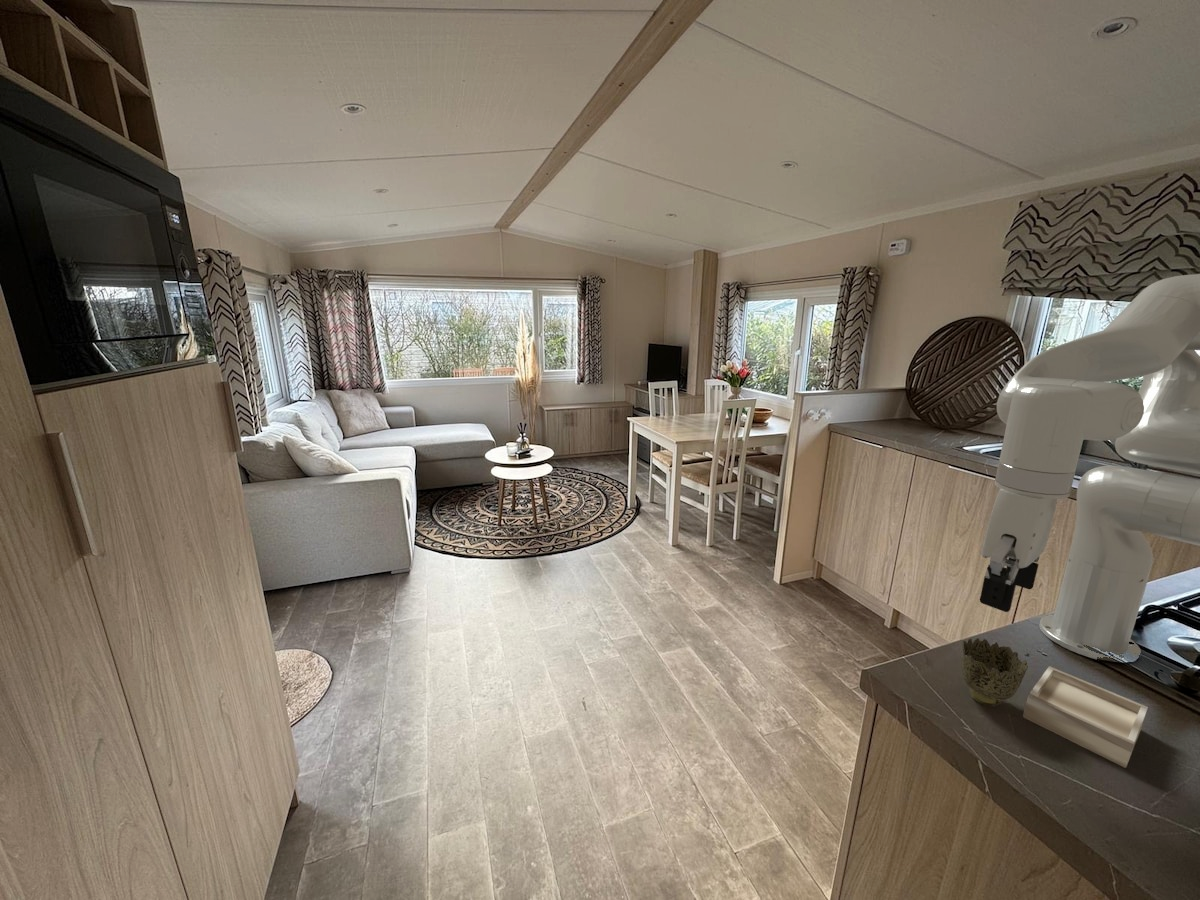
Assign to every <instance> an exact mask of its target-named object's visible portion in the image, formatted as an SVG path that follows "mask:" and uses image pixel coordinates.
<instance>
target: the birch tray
mask: <svg viewBox="0 0 1200 900" xmlns="http://www.w3.org/2000/svg"><path fill="white" fill-rule="evenodd" d="M1148 708H1149V706H1146V705H1144V704H1142V703H1138V702H1137V701H1135V700H1132V699H1130V698H1128V697H1124V696H1122V695H1120V694H1118V693H1115V692H1113V691H1110V690H1108V689H1105V688H1103V687H1100V686H1098V685H1097V684H1094V683H1091V682H1088V681H1087V680H1084V679H1082V678H1080V677H1077V676H1074V675H1072V674H1070V673H1067V672H1064V671H1062V670H1060V669H1057V668H1055V667H1052V666H1050V665H1048V667H1047V668H1046V670H1045V671H1044V672H1043V674H1042V676H1041V677H1040V678H1039V680H1038V681H1037V682H1036V683H1035V685H1034V687H1033V688H1032V689H1031V691H1030V692H1029V694H1028V695H1027V698H1026V702H1025V707H1024V711H1023V715H1022V718H1023V719H1026V720H1028V721H1030V722H1032V723H1034V724H1036V725H1038V726H1040V727H1042V728H1044V729H1046V730H1048V731H1050V732H1053V733H1054V734H1056V735H1058V736H1060V737H1062V738H1064V739H1067V740H1068V741H1070V742H1072V743H1074V744H1075V745H1078V746H1080V747H1082V748H1084V749H1086V750H1088V751H1090V752H1092V753H1094V754H1095V755H1098V756H1100V757H1102V758H1104V759H1107V760H1108V761H1110V762H1113V764H1117V765H1118V766H1120V767H1122V768H1124V769H1127V768H1128V764H1129V761H1130V759H1131V756H1132V754H1133V752H1134V749H1135V746H1136V744H1137V741H1138V738H1139V736H1140V732H1141V731H1142V727H1143V724H1144V721H1145V718H1146V716H1147V711H1148V710H1149V709H1148Z"/></svg>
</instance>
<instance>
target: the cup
mask: <svg viewBox="0 0 1200 900" xmlns="http://www.w3.org/2000/svg"><path fill="white" fill-rule="evenodd" d="M1018 654H1019V653H1018V652H1017V651H1013V650H1012V648H1011V647H1010V646H1008V645H1005V646H1003V645H1002V646H999V644H998V642H997V641H995V642H993V643H992V645H990V642H988V640H987V638H984V639H983V640H981V639H980V638H979V637H977V638H975V639H974V641H973V639H972V638H969V639H968V641H966V640H963V642H962V650H961V674H962V676H963V678H962V679H963V680H964V682H965V683H966V684H967V686H968V687H969V692H970V695H971V697H972V698H973V699H974V700H975V701H976V702H978V703H979V704H980V705H984V706H985V707H993V708H994V707H998V706H999V705H1000V704H1001V703H1002V701H1004V700H1008V699H1011V698H1012V697H1013V696H1014V695H1015V694H1017V693H1016V692H1017V691H1018V689H1019V688H1020V686H1021V683H1022V681H1023V679H1024V676H1025V675H1026V672H1027V670H1028V668H1029V665H1028V662H1027V660H1026V659H1025V660H1023V661H1022V660H1021V659H1019V657H1018Z"/></svg>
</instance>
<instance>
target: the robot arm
mask: <svg viewBox="0 0 1200 900" xmlns="http://www.w3.org/2000/svg"><path fill="white" fill-rule="evenodd" d="M1197 351H1200V273H1196V274H1184V275H1183V274H1182V275H1176V276H1175V275H1174V276H1171V277H1166V278H1163V279H1160V280H1157V281H1155V282H1153V283H1151V284H1149V285H1148V286H1147V287H1145V288H1144V289H1143V290H1141V291H1140V293H1138V294H1137V296H1135V298H1133V299H1132V300H1131V301H1130V302H1129V304H1128V305H1127V306H1125V308H1124V309H1122V311H1121V312H1120V313H1119V314H1118V315H1117V316H1116V317H1115V318H1114V319H1113V320H1112V321H1111V322H1110V323H1109V324H1108V325H1107V326H1106V327H1105V328H1104V329H1103V330H1100V331H1097V332H1093V333H1090V334H1087V335H1085V336H1082V337H1078V338H1076V339H1073V340H1071V341H1068V342H1065V343H1062V344H1060V345H1057V346H1053V347H1051V348H1049V349H1047V350H1044V351H1042V352H1040V353H1038V354H1037V355H1035V356H1034V357H1032V358H1031V359H1029V360H1027V362H1026V363H1025V364H1024V365H1022V366H1021V367H1020V369H1018V371H1016V373H1014V375H1013V376H1011V378H1010V379H1009V380H1008V382H1006V384H1004V386H1003V388H1002V390H1001V392H1000V393H999V395H998V398H997V402H996V412H997V416H998V417H999V420H1001V421H1002V423H1003V424H1005V432H1004V436H1003V441H1002V444H1001V450H1000V453H999V454H1000V455H999V460H998V465H997V470H996V475H995V480H994V486H995V487H997V488H998V489H999V491H998V493H997V495H996V498H995V501H994V504H993V507H992V510H991V513H990V516H989V519H988V523H987V527H986V531H985V534H984V538H983V542H982V546H981V550H980V554H981V557H983V559H984V558H985V559H987V558H989V564H988V565H987V568H986V571H985V574H984V577H983V582H982V587H981V593H980V596H979V602H980V604H983V605H986V606H988V607H991V608H993V609H995V610H999V611H1001V612H1004V613H1008V612H1010V611H1011V607H1012V604H1013V601H1014V596H1015V595H1014V594H1015V590H1016V587H1021V588H1023V589H1025V590H1032V589H1033V588H1034V584H1035V581H1036V576H1037V573H1038V568H1039V563H1038V562H1039V559H1040V556H1041V555H1043V553H1044V551H1045V549H1046V547H1047V543H1048V540H1049V537H1050V533H1051V530H1052V526H1053V521H1054V518H1055V512H1056V508H1057V504H1058V500H1061V499H1067V498H1069V497H1070V494H1071V491H1072V486H1073V482H1074V479H1075V474H1076V470H1077V467H1078V466H1077V465H1078V463H1079V457H1080V455H1081V454H1080V453H1081V450H1082V447H1083V446H1082V445H1083V442H1084V440H1086V441H1087V440H1088V441H1099V442H1100V441H1101V442H1102V441H1103V442H1105V441H1106V442H1107V441H1111V440H1115V444H1114V447H1115V451H1116V453H1117V454H1118V456H1120V457H1122V458H1123V459H1125V460H1127V461H1130V462H1134V463H1137V464H1142V465H1147V466H1152V467H1156V468H1157V467H1159V468H1163V469H1169V470H1174V471H1180V472H1185V473H1190V474H1198V475H1200V354H1198V353H1197ZM1139 377H1143V378H1142V382H1141V385H1140V387H1139V389H1138V391H1137V390H1136V389H1134V388H1133V387H1131V386H1128V385H1125V384H1122V383H1121V384H1120V383H1117V382H1116V383H1115V381H1121V380H1127V379H1134V378H1139ZM1144 533H1147V534H1151V535H1155V536H1159V537H1162V538H1166V539H1171V540H1174V541H1178V542H1182V543H1187V544H1190V545H1195V546H1199V547H1200V479H1196V478H1192V477H1191V478H1190V477H1186V476H1184V477H1183V476H1180V475H1179V476H1178V475H1174V474H1168V473H1164V472H1160V471H1154V470H1147V469H1142V468H1137V467H1136V468H1135V467H1131V466H1124V465H1123V466H1122V465H1101V466H1097V467H1093V468H1092V469H1089V470H1087V471H1086V472H1085V473H1084V474H1083V475H1082V477H1081V478H1080V479H1079V481H1078V485H1077V488H1076V518H1075V526H1074V532H1073V538H1072V542H1071V544H1070V545H1071V546H1070V550H1069V554H1068V558H1067V561H1066V567H1065V571H1064V574H1063V579H1062V582H1061V586H1060V589H1059V594H1058V597H1057V598H1058V599H1057V602H1056V605H1055V610H1054V614H1047V615H1048V616H1047V615H1044V616H1042V617H1041V619H1040V621H1039V629H1040V631H1041V632H1042V633H1043V634H1044V636H1046V638H1048V639H1049V640H1051V641H1053V642H1054V643H1055V644H1057V645H1059V646H1061V647H1062V648H1064V649H1067V650H1068V651H1071V652H1074V653H1076V654H1078V655H1082V656H1084V657H1087V658H1090V659H1092V660H1093V659H1094V660H1097V657H1099V658H1100V657H1101V658H1103V657H1108V658H1109V657H1110V658H1112V657H1113V658H1117V657H1115V656H1112V657H1111V656H1105V655H1103V654H1099V653H1096V652H1094V651H1091V650H1089V649H1088V648H1086V647H1084V646H1083V645H1085V646H1086V645H1087V646H1091V647H1095V648H1098V649H1100V650H1103V651H1107V652H1109V653H1110V652H1112V653H1114V654H1116V655H1119V657H1121V658H1123V657H1124V656H1122V655H1120V654H1124V653H1125V654H1126V651H1127V652H1128V653H1130V654H1132V655H1134V656H1136V657H1137V654H1138V655H1139V654H1140V653H1141V654H1142V652H1141V651H1142V650H1141V648H1140V646H1139V645H1138V644H1137V643H1136V642H1135V641H1134V640H1133V639H1132V638H1131V637H1132V636H1133V635H1132V634H1133V631H1134V629H1135V625H1136V620H1137V618H1138V614H1139V612H1140V611H1139V610H1140V608H1141V606H1142V605H1141V604H1142V601H1143V598H1144V594H1145V590H1146V589H1147V584H1148V581H1149V577H1150V574H1151V572H1152V568H1153V564H1154V554H1153V550H1152V547H1151V546H1150V544H1149V542H1148V540H1147V538H1146V537H1145V535H1144ZM1005 566H1006V567H1005ZM1129 642H1132V643H1134V644H1129ZM1129 645H1132V646H1129ZM1128 646H1129V647H1128ZM1135 653H1136V654H1135ZM1130 657H1132V658H1133V656H1131V655H1130Z"/></svg>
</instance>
